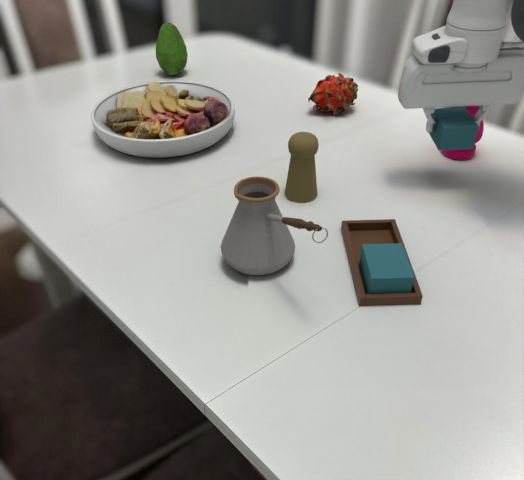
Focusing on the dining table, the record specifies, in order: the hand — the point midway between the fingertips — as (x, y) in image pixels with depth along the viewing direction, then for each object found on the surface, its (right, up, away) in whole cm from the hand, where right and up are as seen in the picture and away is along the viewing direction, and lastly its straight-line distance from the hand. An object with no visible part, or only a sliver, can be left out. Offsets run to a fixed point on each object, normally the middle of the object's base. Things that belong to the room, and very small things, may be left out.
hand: (451, 130), depth 93 cm
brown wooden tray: (-15, -26, -11) cm, 32 cm away
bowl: (-54, +9, +22) cm, 59 cm away
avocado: (-56, +33, +44) cm, 79 cm away
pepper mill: (+6, +1, +14) cm, 15 cm away
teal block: (-15, -29, -15) cm, 36 cm away
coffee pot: (-31, -28, -12) cm, 44 cm away
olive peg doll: (-26, -10, +4) cm, 28 cm away
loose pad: (0, -1, +1) cm, 2 cm away
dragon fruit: (-17, +16, +28) cm, 36 cm away
